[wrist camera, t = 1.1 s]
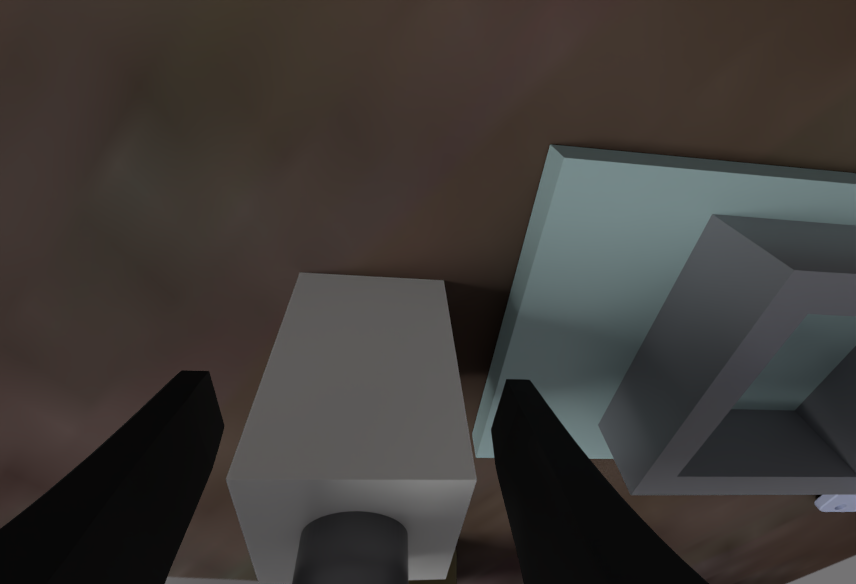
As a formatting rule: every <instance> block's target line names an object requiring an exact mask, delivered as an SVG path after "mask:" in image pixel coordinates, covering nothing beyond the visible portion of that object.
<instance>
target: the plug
mask: <svg viewBox="0 0 856 584" xmlns="http://www.w3.org/2000/svg"><path fill="white" fill-rule="evenodd" d="M476 480H477V479H476V473H475V467H474V461H473V455H472V448H471V442H470V436H469V430H468V424H467V418H466V412H465V406H464V400H463V394H462V388H461V382H460V376H459V369H458V363H457V357H456V351H455V345H454V339H453V333H452V327H451V321H450V315H449V309H448V303H447V297H446V290H445V284H444V280H427V279H409V278H391V277H373V276H355V275H337V274H319V273H301V272H300V274H299V276H298V279H297V282H296V285H295V288H294V290H293V293H292V296H291V299H290V302H289V304H288V307H287V310H286V313H285V316H284V318H283V321H282V324H281V327H280V330H279V332H278V335H277V338H276V341H275V343H274V346H273V349H272V352H271V355H270V357H269V360H268V363H267V366H266V369H265V371H264V374H263V377H262V380H261V383H260V385H259V388H258V391H257V394H256V397H255V399H254V402H253V405H252V408H251V411H250V413H249V416H248V419H247V422H246V425H245V427H244V430H243V433H242V436H241V439H240V441H239V444H238V447H237V450H236V452H235V455H234V458H233V461H232V464H231V466H230V469H229V472H228V475H227V478H226V482H227V485H228V488H229V491H230V494H231V497H232V501H233V504H234V507H235V510H236V513H237V516H238V519H239V523H240V526H241V529H242V532H243V535H244V538H245V542H246V545H247V548H248V551H249V554H250V557H251V560H252V564H253V567H254V570H255V573H256V576H257V579H258V582H259V584H281V583H292V584H409V580H436V579H446V576H447V573H448V570H449V567H450V564H451V560H452V557H453V554H454V551H455V548H456V544H457V541H458V538H459V535H460V532H461V528H462V525H463V522H464V519H465V516H466V512H467V509H468V506H469V503H470V500H471V496H472V493H473V490H474V487H475V484H476Z"/></svg>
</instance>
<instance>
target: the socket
mask: <svg viewBox="0 0 856 584" xmlns="http://www.w3.org/2000/svg"><path fill="white" fill-rule="evenodd" d="M506 379H525V380H530V381H531V382H532V383H533V384H534V386H535V387H536V389H537V390H538V391H539V393H540V394H541V396H542V397H543V398H544V400H545V401H546V403H547V404H548V405H549V407H550V408H551V409H552V411H553V412H554V414H555V415H556V416H557V418H558V419H559V420H560V422H561V423H562V424H563V426H564V427H565V428H566V430H567V431H568V432H569V434H570V435H571V436H572V438H573V439H574V440H575V441H576V443H577V444H578V445H579V446H580V448H581V449H582V450H583V451H584V453H585V454H586V455H587V456H588V458H589V459H614V460H615V462H616V465H617V467H618V469H619V471H620V473H621V475H622V477H623V479H624V482H625V484H626V486H627V488H628V490H629V492H630V494H631V495H856V173H848V172H837V171H827V170H816V169H805V168H795V167H784V166H774V165H763V164H753V163H742V162H731V161H721V160H710V159H700V158H689V157H678V156H668V155H657V154H647V153H636V152H626V151H615V150H604V149H594V148H583V147H573V146H562V145H551V144H550V147H549V151H548V154H547V158H546V162H545V165H544V169H543V173H542V177H541V180H540V184H539V188H538V191H537V195H536V199H535V203H534V206H533V210H532V214H531V217H530V221H529V225H528V229H527V232H526V236H525V240H524V243H523V247H522V251H521V255H520V258H519V262H518V266H517V269H516V273H515V277H514V280H513V284H512V288H511V292H510V295H509V299H508V303H507V306H506V310H505V314H504V318H503V321H502V325H501V329H500V332H499V336H498V340H497V344H496V347H495V351H494V355H493V358H492V362H491V366H490V370H489V373H488V377H487V381H486V384H485V388H484V392H483V396H482V399H481V403H480V407H479V410H478V414H477V418H476V422H475V425H474V429H473V433H472V437H473V443H474V448H475V454H476V458H494V451H493V443H492V435H491V427H492V424H493V421H494V417H495V414H496V411H497V408H498V405H499V401H500V398H501V395H502V392H503V388H504V385H505V382H506Z"/></svg>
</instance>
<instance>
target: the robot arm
mask: <svg viewBox="0 0 856 584" xmlns="http://www.w3.org/2000/svg"><path fill="white" fill-rule="evenodd" d="M223 430H224V423H223V419H222V416H221V412H220V408H219V405H218V401H217V398H216V394H215V391H214V387H213V384H212V380H211V377H210V373H209V371H181V372H179V373H178V374H177V375H176V376H175V377H174V378H173V379H172V380H171V381H169V382H168V383H167V384H166V385H165V386H164V387H163V388H162V389H161V390H160V391H159V392H158V393H157V394H156V395H155V396H154V397H153V398H152V399H150V400H149V401H148V402H147V403H146V404H145V405H144V406H143V407H142V408H141V409H140V410H139V411H138V412H137V413H136V414H135V415H134V416H132V417H131V418H130V419H129V420H128V421H127V422H126V423H125V424H124V425H123V426H122V427H121V428H119V429H118V430H117V431H116V432H115V433H114V434H113V435H112V436H111V437H110V438H108V439H107V440H106V441H105V442H104V443H103V444H102V445H101V446H100V447H99V448H97V449H96V450H95V451H94V452H93V453H92V454H91V455H90V456H88V457H87V458H86V459H85V460H84V461H83V462H82V463H80V464H79V465H78V466H77V467H76V468H74V469H73V470H72V471H71V472H70V473H69V474H67V475H66V476H65V477H64V478H63V479H61V480H60V481H59V482H58V483H57V484H56V485H54V486H53V487H52V488H51V489H50V490H48V491H47V492H46V493H45V494H44V495H42V496H41V497H40V498H39V499H38V500H36V501H35V502H34V503H33V504H31V505H30V506H29V507H28V508H26V509H25V510H24V511H23V512H21V513H20V514H19V515H17V516H16V517H15V518H14V519H12V520H11V521H10V522H9V523H7V524H6V525H5V526H3V527H2V528H1V529H0V584H165V581H166V579H167V576H168V573H169V571H170V568H171V566H172V563H173V561H174V559H175V556H176V554H177V552H178V549H179V547H180V545H181V542H182V540H183V538H184V535H185V533H186V530H187V528H188V526H189V523H190V521H191V519H192V516H193V514H194V512H195V509H196V507H197V505H198V502H199V500H200V497H201V495H202V493H203V490H204V488H205V485H206V483H207V481H208V478H209V476H210V473H211V471H212V468H213V465H214V461H215V458H216V455H217V452H218V448H219V444H220V441H221V437H222V434H223ZM491 435H492V443H493V451H494V458H495V465H496V470H497V475H498V479H499V483H500V487H501V491H502V495H503V499H504V503H505V507H506V511H507V515H508V519H509V523H510V527H511V531H512V535H513V539H514V542H515V546H516V550H517V554H518V558H519V562H520V567H521V572H522V576H523V581H524V584H709V583H708V582H706V581H705V580H704V579H703V578H702V577H701V576H700V575H699V574H698V573H697V572H695V571H694V570H693V569H692V568H691V567H690V566H689V565H688V564H687V563H686V562H684V561H683V560H682V559H681V558H680V557H679V556H678V555H677V554H676V553H675V552H674V551H673V550H672V549H671V548H670V547H669V546H668V545H667V544H666V543H665V542H664V541H663V540H662V539H661V538H660V537H659V536H658V535H657V534H656V533H655V532H654V531H653V530H652V529H651V528H650V527H649V526H648V525H647V524H646V523H645V522H644V521H643V520H642V519H641V518H640V516H639V515H638V514H637V513H636V512H635V511H634V510H633V509H632V508H631V507H630V506H629V505H628V503H627V502H626V501H625V500H624V499H623V498H622V497H621V496H620V495H619V493H618V492H617V491H616V490H615V489H614V488H613V486H612V485H611V484H610V483H609V482H608V481H607V479H606V478H605V477H604V476H603V475H602V474H601V472H600V471H599V470H598V469H597V468H596V466H595V465H594V464H593V463H592V462H591V460H590V459H589V458H588V456H587V455H586V454H585V453H584V451H583V450H582V449H581V448H580V446H579V445H578V444H577V443H576V441H575V440H574V439H573V438H572V436H571V435H570V434H569V432H568V431H567V430H566V428H565V427H564V426H563V424H562V423H561V422H560V420H559V419H558V418H557V416H556V415H555V414H554V412H553V411H552V409H551V408H550V407H549V405H548V404H547V403H546V401H545V400H544V398H543V397H542V396H541V394H540V393H539V391H538V390H537V389H536V387H535V386H534V384H533V383H532V382H531V381H530V380H525V379H506V382H505V385H504V388H503V392H502V395H501V398H500V401H499V405H498V408H497V411H496V414H495V417H494V421H493V424H492V427H491ZM814 504H815V505H816V506H817V507H818V509H819V510H820V511H823V512H856V495H821V496H820V497H818V498H817V499H816V500H815V503H814Z"/></svg>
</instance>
